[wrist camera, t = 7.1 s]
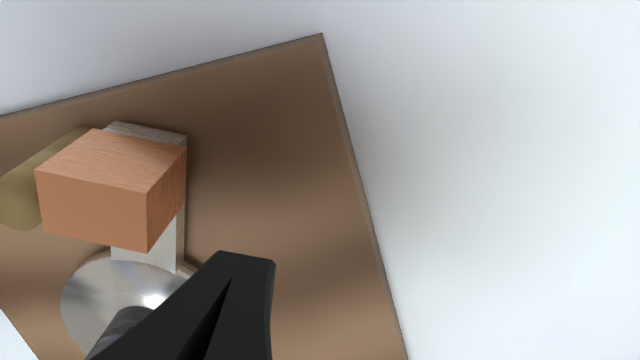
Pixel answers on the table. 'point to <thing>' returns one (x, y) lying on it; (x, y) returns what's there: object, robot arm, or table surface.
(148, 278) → the dial plate
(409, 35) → the table surface
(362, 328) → the walnut board
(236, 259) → the robot arm
